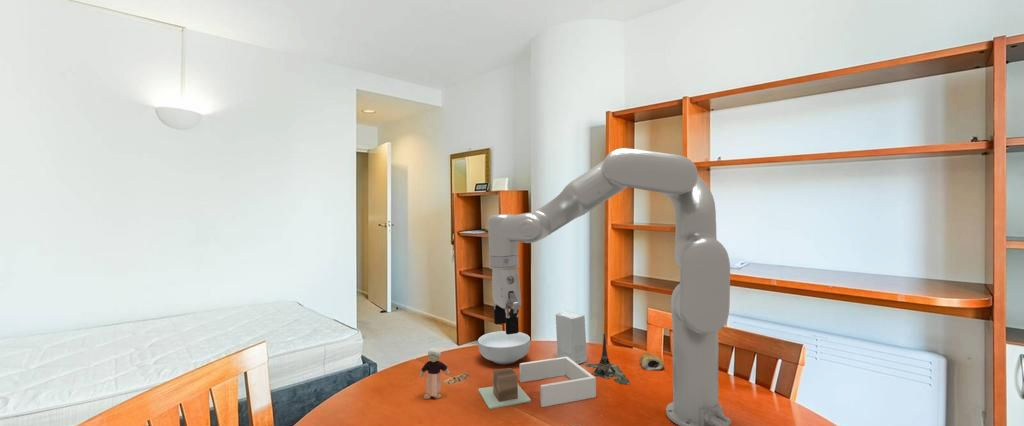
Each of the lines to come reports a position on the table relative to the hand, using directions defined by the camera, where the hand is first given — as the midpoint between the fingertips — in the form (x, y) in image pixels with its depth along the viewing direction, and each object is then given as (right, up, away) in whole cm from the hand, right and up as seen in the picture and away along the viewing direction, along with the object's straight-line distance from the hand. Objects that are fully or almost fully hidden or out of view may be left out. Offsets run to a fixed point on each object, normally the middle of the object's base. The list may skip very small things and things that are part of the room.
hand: (506, 328), depth 103 cm
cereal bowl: (-1, -18, +26) cm, 32 cm away
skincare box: (+21, -18, +25) cm, 37 cm away
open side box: (+13, -18, +5) cm, 22 cm away
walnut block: (0, -18, 0) cm, 18 cm away
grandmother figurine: (-19, -18, +1) cm, 26 cm away
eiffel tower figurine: (+29, -18, +14) cm, 37 cm away
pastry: (+44, -18, +21) cm, 52 cm away
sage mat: (-1, -18, +1) cm, 18 cm away
